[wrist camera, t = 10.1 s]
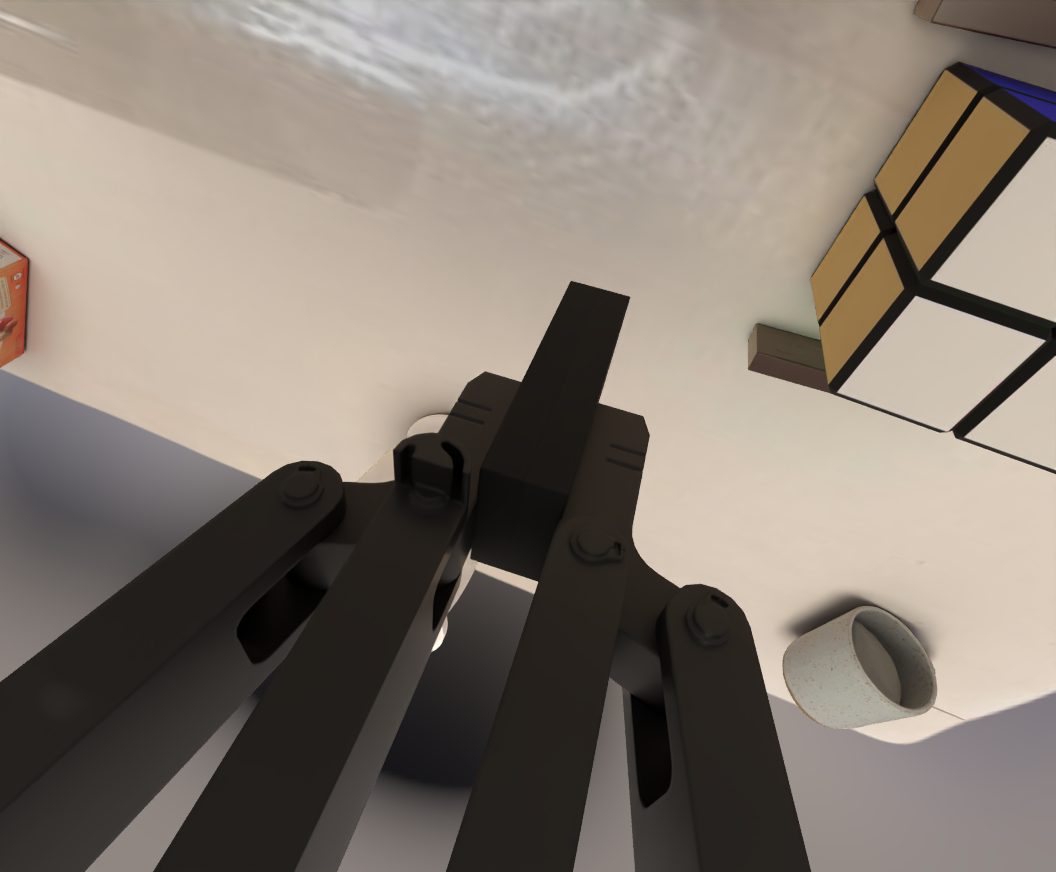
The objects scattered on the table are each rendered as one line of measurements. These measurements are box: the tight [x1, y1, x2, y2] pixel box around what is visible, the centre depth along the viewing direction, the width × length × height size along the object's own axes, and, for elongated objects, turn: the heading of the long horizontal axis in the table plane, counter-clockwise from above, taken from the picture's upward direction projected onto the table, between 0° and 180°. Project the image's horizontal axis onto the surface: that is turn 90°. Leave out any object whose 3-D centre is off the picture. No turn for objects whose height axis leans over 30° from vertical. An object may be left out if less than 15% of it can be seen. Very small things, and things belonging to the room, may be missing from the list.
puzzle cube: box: [811, 62, 1056, 474], centre depth 21 cm, size 10×10×10 cm
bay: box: [748, 0, 1056, 393], centre depth 24 cm, size 16×13×3 cm
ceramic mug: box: [783, 606, 937, 729], centre depth 43 cm, size 11×8×8 cm
